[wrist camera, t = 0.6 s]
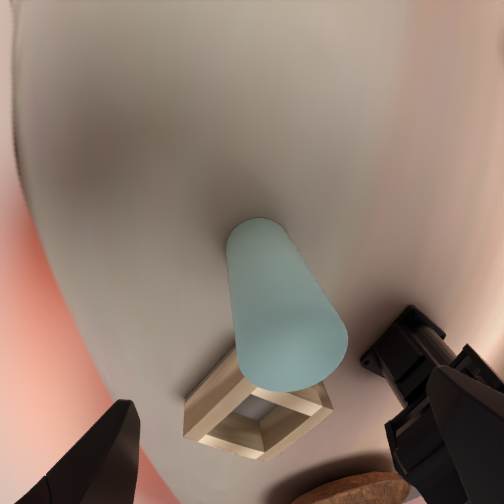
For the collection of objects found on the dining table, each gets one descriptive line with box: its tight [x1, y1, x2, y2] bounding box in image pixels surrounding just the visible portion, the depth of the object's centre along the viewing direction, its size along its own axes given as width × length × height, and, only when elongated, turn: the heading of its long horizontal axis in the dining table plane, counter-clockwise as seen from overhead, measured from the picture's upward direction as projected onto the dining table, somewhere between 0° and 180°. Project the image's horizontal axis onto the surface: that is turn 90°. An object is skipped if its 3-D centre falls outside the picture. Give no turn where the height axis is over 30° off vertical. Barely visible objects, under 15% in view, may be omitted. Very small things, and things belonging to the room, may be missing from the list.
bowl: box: [290, 471, 412, 504], centre depth 33 cm, size 20×22×5 cm
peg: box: [226, 218, 348, 392], centre depth 16 cm, size 4×4×10 cm
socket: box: [183, 343, 334, 462], centre depth 23 cm, size 8×8×4 cm
